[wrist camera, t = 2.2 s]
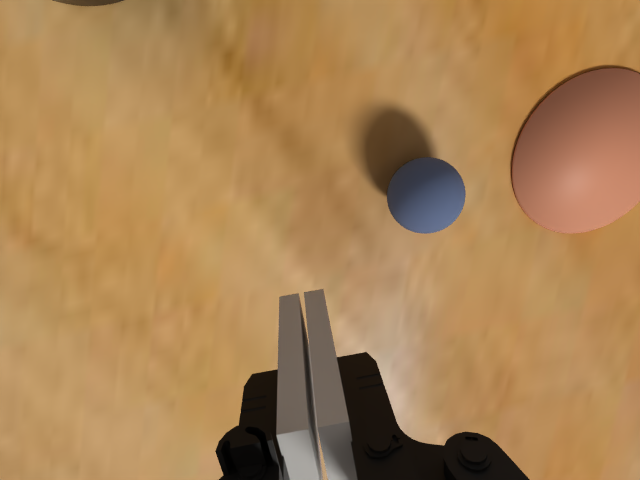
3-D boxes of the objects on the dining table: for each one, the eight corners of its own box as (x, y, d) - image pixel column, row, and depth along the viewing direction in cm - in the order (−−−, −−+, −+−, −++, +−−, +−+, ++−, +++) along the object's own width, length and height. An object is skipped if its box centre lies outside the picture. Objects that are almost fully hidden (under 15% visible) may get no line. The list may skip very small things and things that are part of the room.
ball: (367, 174, 30) (384, 191, 25) (431, 138, 30) (462, 148, 25) (396, 231, 32) (418, 258, 27) (457, 199, 32) (490, 220, 27)
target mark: (489, 124, 30) (490, 124, 30) (653, 33, 28) (655, 33, 28) (537, 258, 34) (539, 259, 34) (681, 185, 33) (683, 186, 33)
